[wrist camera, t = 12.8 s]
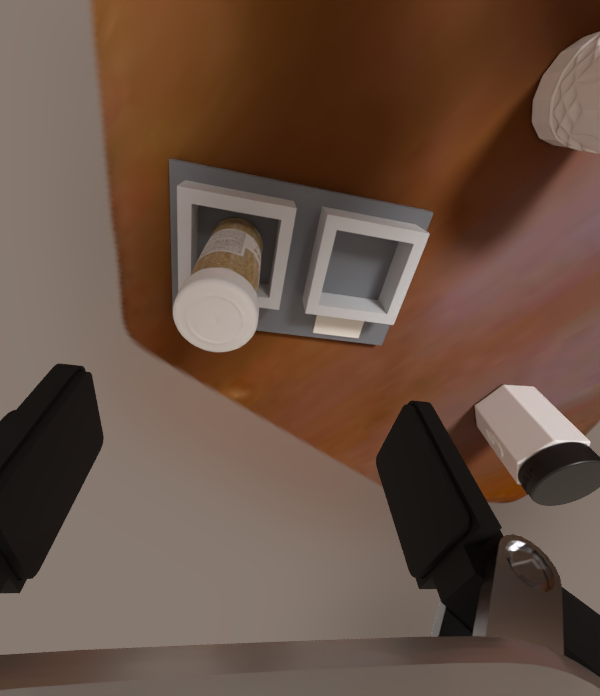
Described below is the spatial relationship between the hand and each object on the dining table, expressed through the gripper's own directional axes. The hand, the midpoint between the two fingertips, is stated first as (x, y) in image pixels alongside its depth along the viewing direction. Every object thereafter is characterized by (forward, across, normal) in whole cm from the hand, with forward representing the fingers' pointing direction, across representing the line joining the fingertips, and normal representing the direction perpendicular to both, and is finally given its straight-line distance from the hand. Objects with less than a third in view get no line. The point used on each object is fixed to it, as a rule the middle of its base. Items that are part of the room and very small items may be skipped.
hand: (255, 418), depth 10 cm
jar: (+23, -36, +18) cm, 46 cm away
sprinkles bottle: (+22, +2, +2) cm, 22 cm away
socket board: (+23, -3, +3) cm, 23 cm away
